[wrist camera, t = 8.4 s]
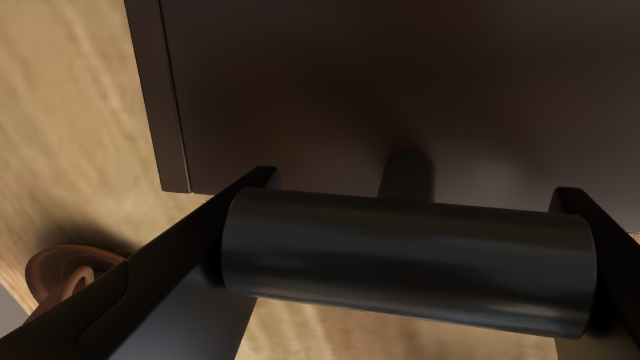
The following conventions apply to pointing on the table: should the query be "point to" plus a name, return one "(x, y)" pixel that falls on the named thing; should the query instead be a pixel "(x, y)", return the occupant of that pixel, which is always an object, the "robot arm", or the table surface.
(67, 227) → the table surface
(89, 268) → the cup and saucer
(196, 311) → the robot arm
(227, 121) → the shelf
